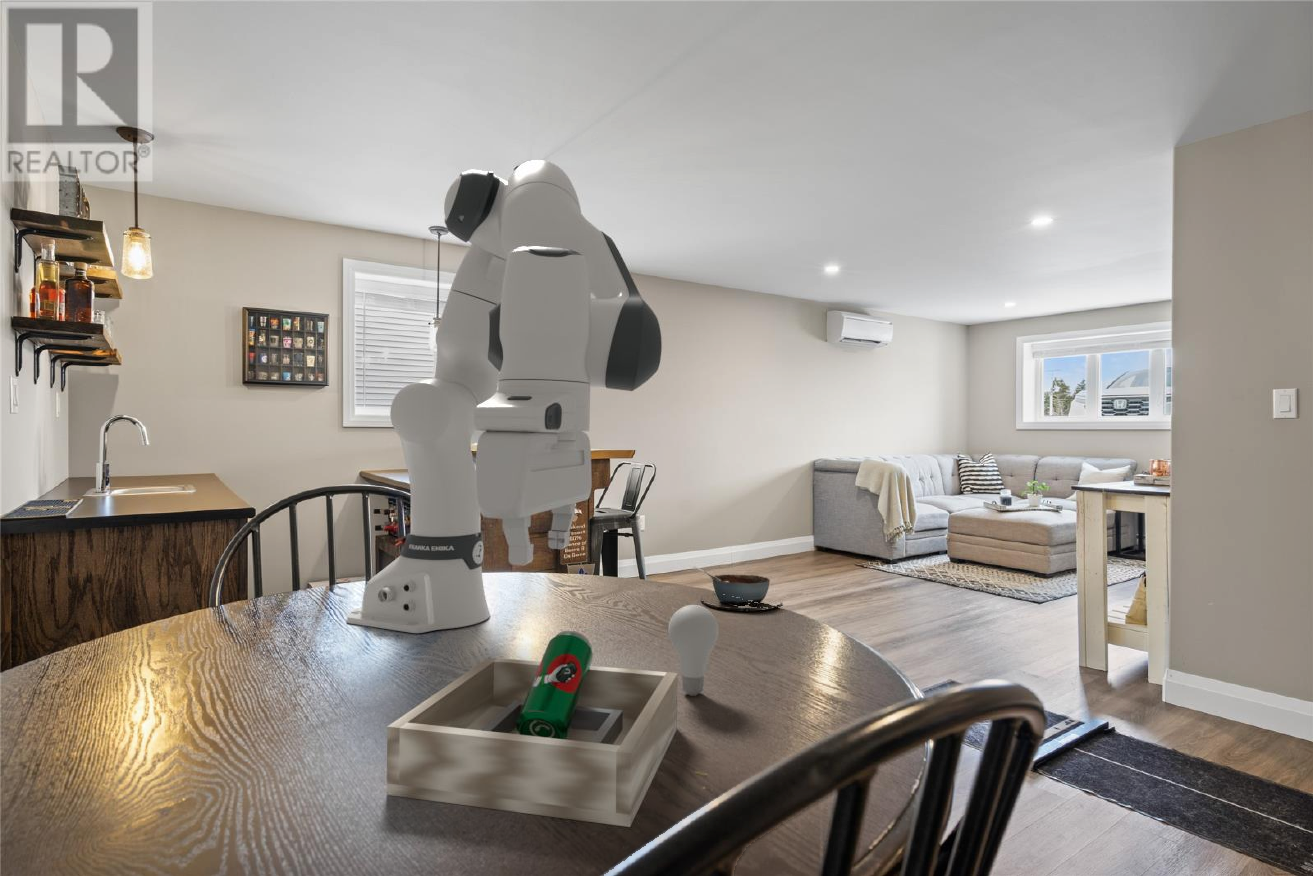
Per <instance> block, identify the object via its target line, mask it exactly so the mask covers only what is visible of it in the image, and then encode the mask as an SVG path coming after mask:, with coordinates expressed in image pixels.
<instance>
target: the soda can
mask: <svg viewBox="0 0 1313 876" xmlns="http://www.w3.org/2000/svg"><path fill="white" fill-rule="evenodd" d="M593 655H594V653H593V648H592V644H591V642H590V640H589V638H588V637H587V636H585V635H584V634H582V633H580V632H578V631H575V630H564V631H560V632H558V633H557V634H556V635H555V636H554V637H552V638H551V639H550V640H549V642H548V644H547V646H546V649H545V650H544V653H543V655H542V658H541V660H540V662H541V663H540V665H539V668H538V670H537V672H536V675H535V677H534V680H533V682H532V685H531V687H530V689H529V692H528V694H527V697H526V699H525V702H524V704H523V706H522V709H521V711H520V714H519V716H518V719H517V722H516V727H517V730H518V733H519V735H528V736H537V737H546V738H555V739H565V740H566V739H567V736H568V733H569V730H570V727H571V724H572V720H573V717H574V714H575V711H576V708H577V705H578V702H579V699H580V696H581V693H582V690H583V687H584V684H585V681H586V678H587V675H588V671H589V668H590V666H592V662H593V659H594V656H593Z"/></svg>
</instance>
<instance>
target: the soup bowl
mask: <svg viewBox="0 0 1313 876" xmlns="http://www.w3.org/2000/svg"><path fill="white" fill-rule="evenodd" d="M691 567H692V568H693V569H696V570H699V571H700V572H703V573H704V574H706V575H708V576H709V577H710V578H711V579H712V585H713V589H714V592H715V593H716V594H715V593H713V594H714V595H713V596H715V595H716V597H717V599H718V601H719V602H720V603H722V604H724V603H725V604H724V605H728V604H731V605H737V606H745V605H749V606H751V605H753V606H756V607H757V606H758V605H754V604H757V603H754V602H758V603H760V604H761V603H762V601H764V599H765V598H766V596H767V594H768V591H769V587H770V579H769V578H768V577H767V576H760V575H756V574H755V575H754V574H753V575H752V574H747V575H746V574H719V575H712V574H710V573H709V572H707V571H705V570H703V569H701V568H699V567H697V566H695V565H691ZM723 594H725V595H723ZM732 596H734V597H732ZM736 597H740V598H736ZM742 599H743V600H742ZM702 600H703V596H701V597H700V601H701V602H703V601H702ZM748 600H753V601H752V602H751V601H748ZM705 602H706V601H705ZM705 602H703V604H704V605H706V606H709V607H711V608H712V609H714V608H715V609H714V610H718V609H717V608H721V609H720V610H724V609H729V610H728V611H732V610H743V611H742V612H751V611H750V610H762V609H765V610H764V611H770V610H774V609H773V608H772V607H768V609H766V608H763V607H761V608H760V607H757V608H731V607H729V606H728V607H727V606H719V605H716V606H715V605H711V604H707V603H705ZM748 603H750V604H748ZM731 605H730V606H731ZM764 606H765V607H766V606H767V605H764ZM773 606H774V607H776V608H775V609H777V608H781V607H783V606H784V604H783V602H780V604H776V605H773ZM769 609H770V610H769ZM746 610H748V611H746Z"/></svg>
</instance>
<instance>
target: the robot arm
mask: <svg viewBox="0 0 1313 876" xmlns="http://www.w3.org/2000/svg"><path fill="white" fill-rule="evenodd" d="M494 173H495V172H494V171H484V170H479V169H478V170H477V169H470V170H467V171H464V172H461V173H460V175H459V176H458V178H456V179H455V180H454V181H453V182H452V184H451V185H450V186H449V188H448V190H447V192H446V194H445V195H446V196H445V199H444V203H443V204H444V207H443V209H444V224H445V226H446V229H447V231H448V232H449V233H451V234H452V235H453V236H454V237H456V238H458V239H459V240H460V241H463V242H464V243H468V242H469V243H471V244H470V246H469V247H468V249H467V251H465V252H466V253H465V255H464V256H463V259H462V260H461V262H460V264H459V266H458V269H457V271H456V274H455V276H454V278H453V282H452V284H451V287H450V290H449V292H448V295H447V299H446V302H445V304H444V308H443V311H442V313H441V316H440V317H441V318H440V321H439V324H438V327H437V329H436V333H435V343H436V352H437V353H436V366H435V372H434V373H435V375H434V378H423V379H421V380H417V381H414V382H412V383H409V384H407V385H406V386H404V387H403V388H401V389H400V390H399V391H398V392H397V393H396V395H395V396H394V398H393V400H392V401H391V406H390V411H389V412H390V413H389V414H390V421H391V425H392V427H393V429H394V431H395V432H396V434H397V435H398V436H399V439H400V442H401V446H402V450H403V455H404V461H405V464H406V468H407V474H408V481H409V489H410V490H409V491H410V532H409V533H407V534H405V535H404V536H402V537H401V538H396V539H395V540H394V541H395V542H397V543H396V544H395V545H394V546H395V547H400V546H401V550H400V552H399V556H398V557H397V558H396V559H395V560H393V561H392V562H390V564H388V565H387V566H386V567H384V568H383V569H382V570H381V571H379V572H378V573H377V574H375V575H374V576H372V577H371V578H370V579H369V581H367V583H366V585H365V587H364V592H363V596H362V604H361V606H360V607H358V608H356V609H354V610H353V611H351V612H349V613H348V614H347V616H346V623H348V624H353V625H359V626H364V627H372V628H376V629H377V628H378V629H386V630H390V631H391V630H392V631H398V632H405V633H411V634H420V633H421V634H422V633H427V632H432V631H437V630H446V629H447V630H448V629H455V628H462V627H467V626H472V625H476V624H479V623H482V622H483V621H486V620H487V619H489V618H490V617H491V613H490V610H489V607H488V604H487V603H488V602H487V599H486V594H485V587H484V581H483V570H482V566H483V562H484V533H483V531H482V530H481V515H482V516H483V518H488V519H497V520H499V519H500V520H502V527H501V528H502V531H503V533H504V536H505V540H506V542H507V545H508V562H509V564H510V565H512V566H521V567H523V566H525V565H528V564H530V563H532V562H533V560H534V543H531V542H530V541H531V540H530V534H529V528H530V527H531V525H532V524H531V519H532V517H531V516H532V515H537V514H540V513H543V512H547V511H551V514H552V522H551V530H548V532H547V533H548V534H547V535H548V537H547V538H548V541H547V545H548V547H549V549H552V550H553V549H554V550H556V549H557V550H563V549H565V548H567V547H569V545H570V531H571V529H572V525H573V522H574V521H573V520H574V517H575V515H576V504H577V503H581V502H583V501H584V502H585V501H588V499H590V496H591V492H592V488H593V487H592V483H593V482H592V478H593V477H592V451H591V440H590V437H589V435H588V434H587V433H586V432H589V431H590V417H591V413H590V411H591V387H592V388H593V387H597V388H606V389H609V390H611V389H612V390H618V391H619V390H620V391H626V392H627V391H628V392H633V391H635V390H637V389H639V388H640V387H641V386H642V385H644V384H646V383H647V382H648V381H649V380H650V379H651V378H652V377H653V376H654V375H655V374H656V373H657V372H658V370H659V367H660V363H661V358H662V350H663V337H662V331H661V327H660V326H661V325H660V323H659V319H658V317H657V315H656V313H655V312H654V311H653V309H652V308H651V307H650V305H649V304H647V302H646V300H644V299H643V297H642V294H641V293H640V292H639V290H638V288H637V285H636V283H635V281H634V278H633V277H632V274H631V273H630V270H629V269H628V267H627V265H626V261H625V259H623V256H622V255H621V253H620V250H619V249H618V247H617V245H616V243H615V242H614V240H613V239H612V238H611V237H610V236H609V235H607V234H606V233H605V232H603V230H599V229H598V228H597V227H596V226H595V225H593V224H592V223H591V222H590V221H589V220H588V219H587V218H586V217H585V216H584V214H582V210H581V206H580V200H579V197H578V194H577V191H576V190H575V187H574V185H573V183H572V181H571V180H570V178H569V176H568V174H567V173H566V172H565V171H564V170H563V169H562V168H561V167H559V165H557V164H555V163H553V162H550V161H548V160H547V161H546V160H541V159H539V160H538V159H537V160H531V161H526V162H525V163H522V164H520V165H519V166H518V167H517V168H516V169H515V170H513V172H512V173H511V175H510V177H509V178H508V180H507V179H505V178H502V177H500V176H497V175H496V174H494ZM591 294H592V296H594V297H595V298H591ZM497 390H498V391H497ZM474 444H477V445H476V452H475V455H476V456H475V464H474V458H473V452H472V446H473V445H474Z"/></svg>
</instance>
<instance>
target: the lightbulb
mask: <svg viewBox="0 0 1313 876" xmlns="http://www.w3.org/2000/svg"><path fill="white" fill-rule="evenodd" d="M667 629H668V631H667V632H668V638H669V639H668V640H669V641H670V643H671V645H672V647H673V649H674V651H675V653H676V657H677V659H678V663H679V673H680V675H681V687H682V691H683V692H684V693H685V694H687V695H688V696H690V697H697V695H699V694H701V693H702V692H703V691H704V682H705V680H704V679H705V675H706V674H707V673H706V672H707V666H708V661H709V658H710V655H711V653H712V650H713V649H714V647H715V645H716V644H717V641H718V639H719V631H720V629H719V624H718V621H717V619H716V617H715V615H714V614H713V613H712V612H711V611H710V610H709V609H707V608H706V607H704V606H702V605H699V604H688V605H684V606H682V607H680V608H679V609H678V610H676V612H674V613H673V614H672V617H671V618H670V620H669V623H668V628H667Z"/></svg>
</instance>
